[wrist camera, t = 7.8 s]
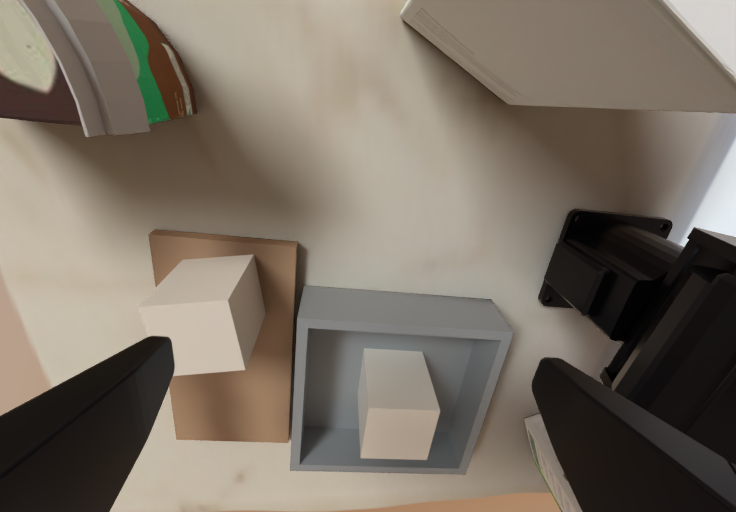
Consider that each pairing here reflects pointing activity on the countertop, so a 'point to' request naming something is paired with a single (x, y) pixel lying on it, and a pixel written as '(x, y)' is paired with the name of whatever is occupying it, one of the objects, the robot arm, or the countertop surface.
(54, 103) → the food container
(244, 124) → the countertop surface
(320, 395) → the bin
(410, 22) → the supplement box
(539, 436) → the syrup box
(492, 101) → the countertop surface
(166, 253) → the brown rectangular board
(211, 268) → the cream white block
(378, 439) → the stone
